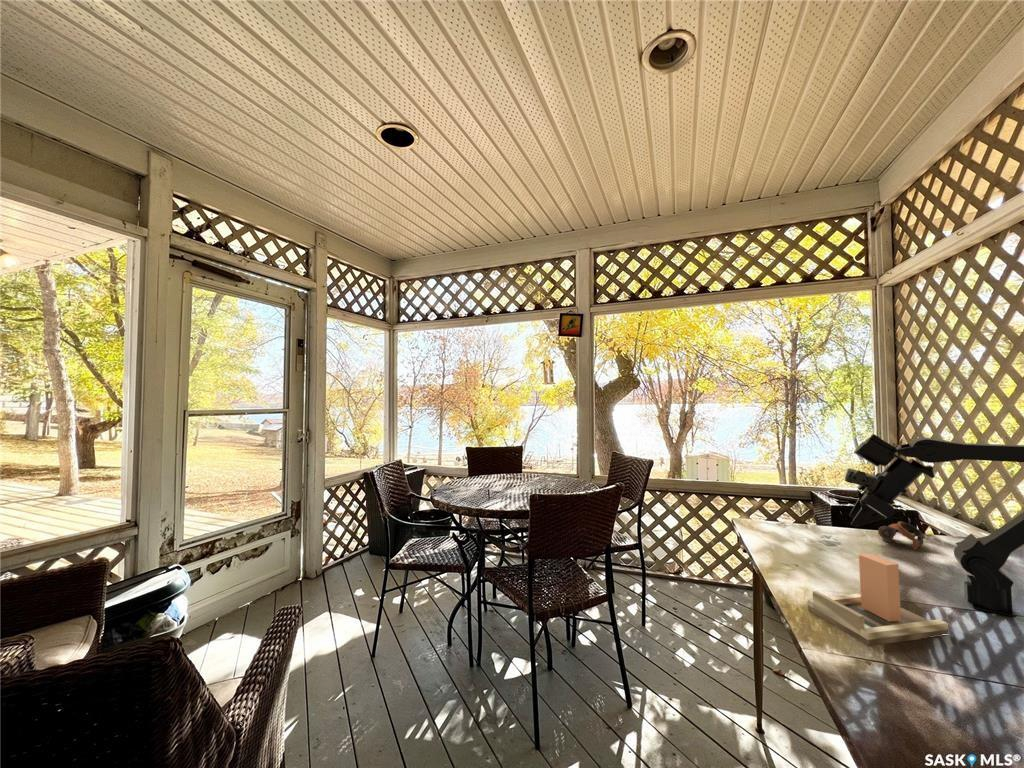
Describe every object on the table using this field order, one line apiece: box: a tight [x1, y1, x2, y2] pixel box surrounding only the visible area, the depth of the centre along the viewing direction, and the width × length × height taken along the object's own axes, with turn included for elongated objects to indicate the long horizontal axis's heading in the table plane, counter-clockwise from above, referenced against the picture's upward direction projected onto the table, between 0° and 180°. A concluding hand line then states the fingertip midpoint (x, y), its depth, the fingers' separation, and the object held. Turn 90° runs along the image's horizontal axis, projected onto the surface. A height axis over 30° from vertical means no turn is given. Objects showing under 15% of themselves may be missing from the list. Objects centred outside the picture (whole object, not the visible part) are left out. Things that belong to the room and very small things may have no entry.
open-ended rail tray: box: [807, 590, 949, 647], centre depth 90 cm, size 20×14×5 cm
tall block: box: [858, 553, 902, 622], centre depth 90 cm, size 3×6×12 cm, turn 8°
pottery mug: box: [878, 521, 926, 549], centre depth 134 cm, size 12×10×8 cm
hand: (851, 521), depth 110 cm, fingers open, 9 cm apart
